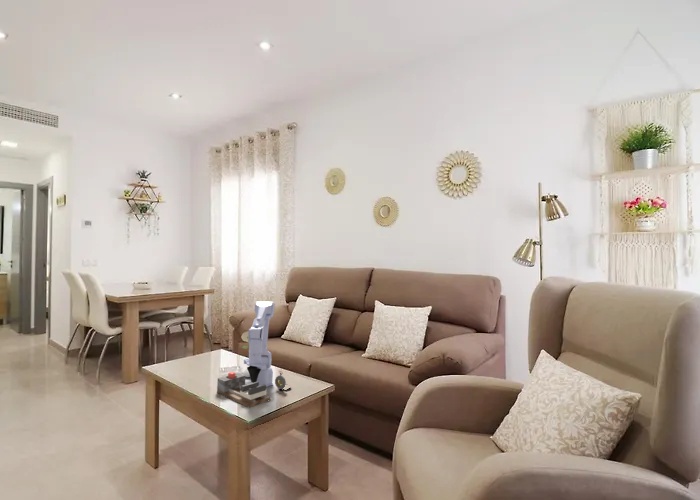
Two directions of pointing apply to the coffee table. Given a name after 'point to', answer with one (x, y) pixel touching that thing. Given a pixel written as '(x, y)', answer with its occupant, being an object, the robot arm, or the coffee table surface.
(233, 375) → the button
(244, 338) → the flower in vase
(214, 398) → the coffee table surface
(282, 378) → the pocket watch
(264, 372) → the robot arm
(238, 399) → the rail board
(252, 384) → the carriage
